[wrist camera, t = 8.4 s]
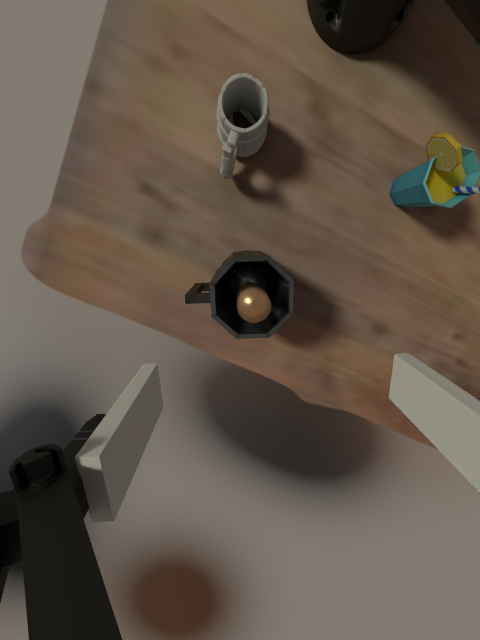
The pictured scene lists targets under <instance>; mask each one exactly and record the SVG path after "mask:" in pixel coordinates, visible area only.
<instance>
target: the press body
mask: <svg viewBox="0 0 480 640" xmlns="http://www.w3.org/2000/svg"><path fill="white" fill-rule="evenodd" d="M244 265H252V266H255V267H257V268H259V269H260V270H261V271H262V273H263V274H264V276H265V279H266V288H265V292H266V294H267V295H268V297H269V299H270V302H271V310H270V313H269V314H268V316H267V317H266V318H265V319H264V320H262V321H260V322H255V323H252V322H248V321H246V320H244V319H243V318H242V317H241V316H240V315H239V313H238V309H237V297H235V296H234V294H233V293H232V291H231V288H230V279H231V276H232V274H233V272H234V271H235V270H236V269H237V268H239V267H241V266H244ZM202 291H210V293H201V292H202ZM185 302H186V304H192V303H211V314H212V318H213V319H214V320H215V321H217V322H218V323H219V324H220V325H221V326H222V327H224V328H225V329H226V330H227V331H228V332H229V333H230V334H232V335H233V336H234V337H235V338H236V339H243V338H270V337H271V336H272V335H273V334H274V333H275V332H276V331H277V330H278V329H279V328H280V327H281V326H282V325H283V324H284V323H285V322H286V321H287V320H288V319H289V318H290V317H291V316H292V315H293V305H294V280H293V279H292V278H291V277H290V276H289V275H288V274H287V273H286V272H285V271H284V270H283V269H282V268H281V267H280V266H279V265H278V264H277V263H276V262H275V261H274V260H273V259H272V258H271V257H270V256H269V255H267V254H265V253H263V252H261V251H241V252H233V253H232V255H231V256H230V257H228V258H227V259H226V260H225V261H224V263H223V264H222V266H221V267H220V268H219V269H218V270H217V271H216V273H215V275H214V276H213V278H212V280H211V282H210V283H195V284H194V286H193V287H192V288H191V289H190V290H189V291H188V292H187V293H186V294H185Z"/></svg>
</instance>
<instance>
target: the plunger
mask: <svg viewBox="0 0 480 640" xmlns="http://www.w3.org/2000/svg"><path fill="white" fill-rule="evenodd" d="M230 288H231V291H232V293H233V294H234V296H235V297H237V309H238V313H239V315H240V316H241V317H242V318H243V319H244V320H246V321H248V322H252V323H255V322H260V321H262V320H264V319H265V318H266V317H267V316H268V314H269V313H270V310H271V302H270V299H269V297H268V295H267V294H266V292H265V288H266V279H265V276H264V274H263V273H262V271H261V270H260V269H259V268H257V267H255V266H252V265H244V266H241V267H239V268H237V269H236V270H235V271H234V272H233V274H232V276H231V279H230Z"/></svg>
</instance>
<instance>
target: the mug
mask: <svg viewBox="0 0 480 640" xmlns="http://www.w3.org/2000/svg"><path fill="white" fill-rule="evenodd" d="M237 111H240V112H241V113H242V114H243V115H244V116H245V117H246V118H247V119H248V120H249V122H250V123H251V124H252V125H253V126H251V127H249V128H239V127H236V126H234V125H233V113H234V112H237ZM252 114H253V115H254V116H255V118H256V119H257V121H258V122H257V123H256V122H255V120H254V118H253V116H252ZM269 114H270V110H269V102H268V94H267V91H266V88H265V87H264V85H263V84H262V82H261V81H260V80H259V79H255V78H254V76H252V75H250V74H246V73H242V74H241V73H239V74H236V75H234V76H232V77H230V78H229V79H228V80H227V81H226V82H225V84H224V85H223V87H222V91H221V93H220V94H219V101H218V107H217V115H216V116H217V122H218V124H217V133H218V137H219V140H220V142H221V144H222V146H223V148H222V149H223V155H222V160H221V169H220V175H221V176H222V177H223V178H226V179H229V178H231V177H232V174H233V170H234V164H235V160H236V157H248V156H251V155H253V154H254V153H256V152H257V151H258V150H259V149H260V148H261V146H262V145H263V143H264V140H265V138H266V133H267V123H268V119H269ZM229 116H230V117H229ZM228 117H229V119H228V120H227V118H228Z"/></svg>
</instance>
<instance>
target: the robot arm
mask: <svg viewBox="0 0 480 640" xmlns="http://www.w3.org/2000/svg"><path fill="white" fill-rule="evenodd" d="M414 1H415V0H307V5H308V11H309V15H310V18H311V21H312V23H313V25H314V27H315V29H316V31H317V33H318V34H319V36H320V37H321V38H322V39H323V40H324V41H325V42H326V43H327V44H328V45H329V46H331V47H332V48H334V49H336V50H338V51H340V52H343V53H347V54H360V53H365V52H368V51H371V50H373V49H375V48H377V47H378V46H380V45H381V44H383V43H384V42H385V41H386V40H388V39H389V38H390V37H391V36H392V34H393V33H394V32H395V31H396V29H397V28H398V27H399V25H400V24H401V23H402V22H403V20H404V19H405V17H406V16H407V14H408V13H409V11H410V9H411V7H412V5H413V4H414ZM444 1H445V2H446V3H447V4H448V6H449V7H450V8H451V10H452V11H453V12H454V13H455V15H456V16H457V17H458V18H459V20H460V21H461V22H462V24H463V25H464V26H465V27H466V29H467V30H468V31H469V33H470V34H471V35H472V36H473V38H474V41H475V44H476V45H477V46H479V47H480V0H444ZM389 399H390V400H391V401H392V402H393V403H394V404H395V405H396V406H397V407H398V408H399V409H400V410H401V411H402V412H403V413H404V414H405V415H406V416H407V417H408V418H409V419H410V420H411V421H412V422H413V424H414V425H415V426H416V427H417V428H418V429H419V430H420V431H421V432H422V433H423V434H424V435H425V436H426V437H427V438H428V439H429V440H430V441H431V442H432V443H433V444H434V445H435V446H436V447H437V448H438V450H439V451H440V452H441V453H442V454H443V455H444V456H445V457H446V458H447V459H448V460H449V461H450V462H451V463H452V464H453V465H454V466H455V467H456V468H457V469H458V470H459V471H460V472H461V473H462V475H463V476H465V478H466V479H467V480H468V481H469V482H470V483H471V484H472V485H473V486H474V487H475V488H476V489H477V490H478V491H479V492H480V399H477V398H475V397H473V396H472V395H470V394H469V393H467V392H466V391H464V390H463V389H461V388H460V387H458V386H457V385H455V384H454V383H452V382H451V381H449V380H448V379H446V378H445V377H443V376H442V375H440V374H439V373H437V372H436V371H434V370H433V369H431V368H430V367H428V366H427V365H425V364H424V363H422V362H421V361H419V360H418V359H416V358H415V357H413V356H412V355H410V354H395V356H394V363H393V370H392V377H391V384H390V391H389ZM162 408H163V401H162V394H161V387H160V379H159V372H158V365H157V363H155V364H143V365H142V367H141V368H140V369H139V371H138V372H137V374H136V375H135V376H134V377H133V379H132V381H131V382H130V383H129V384H128V386H127V387H126V388H125V390H124V391H123V392H122V394H121V395H120V397H119V398H118V399H117V401H116V402H115V404H114V405H113V406H112V407H111V409H110V410H109V411H108V413H107V414H97V415H96V416H94V417H93V418H92V419H90V420H89V421H87V422H86V423H85V424H84V426H83V427H82V428H81V430H80V431H79V433H77V434H76V436H75V437H74V438H73V440H72V441H71V442H70V443H69V444H68V445H67V447H66V448H65V449H64V450H63V452H62V449H61V448H60V446H58V445H55V444H48V445H42V446H39V447H36V448H33V449H31V450H29V451H28V452H25V453H24V454H23V455H21V456H20V457H18V458H17V459H16V460H15V461H14V463H13V464H12V465H11V467H10V470H9V473H10V476H11V479H12V482H13V485H14V488H15V489H14V490H10V491H7V492H3V493H0V601H1V598H2V594H3V590H4V586H5V582H6V579H7V575H8V571H9V567H10V565H11V564H14V563H17V562H20V561H22V562H23V574H24V585H25V597H26V610H27V622H28V633H29V640H122V638H121V635H120V632H119V629H118V625H117V622H116V619H115V616H114V613H113V610H112V607H111V604H110V600H109V598H108V595H107V592H106V588H105V585H104V582H103V579H102V576H101V573H100V569H99V567H98V563H97V560H96V557H95V554H94V551H93V548H92V545H91V541H90V538H89V535H88V532H87V529H86V526H85V523H84V520H83V519H84V517H85V515H86V513H87V511H88V510H89V513H90V517H91V521H92V522H101V521H114V519H115V517H116V515H117V513H118V510H119V508H120V506H121V503H122V501H123V499H124V497H125V494H126V491H127V489H128V487H129V485H130V483H131V480H132V478H133V476H134V473H135V471H136V469H137V466H138V464H139V462H140V459H141V457H142V455H143V452H144V450H145V447H146V445H147V443H148V441H149V438H150V436H151V434H152V432H153V429H154V427H155V424H156V422H157V420H158V418H159V415H160V413H161V411H162Z"/></svg>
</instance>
